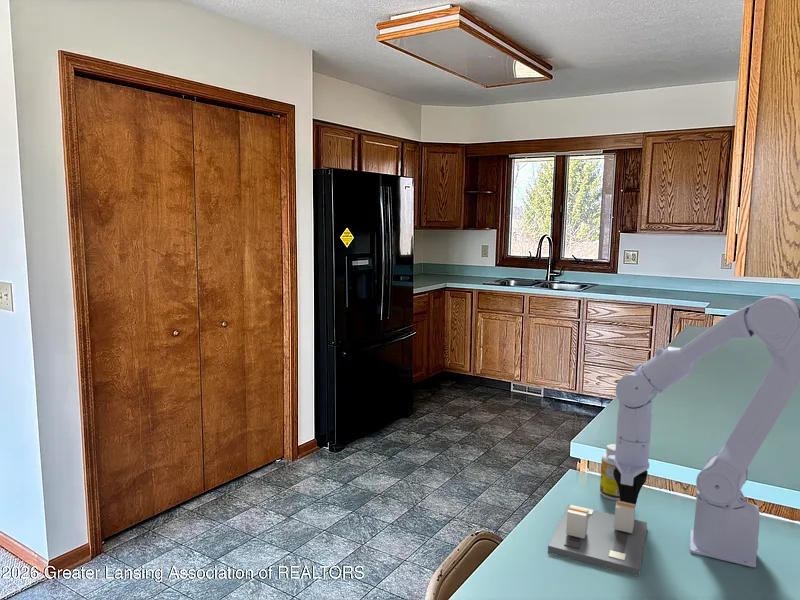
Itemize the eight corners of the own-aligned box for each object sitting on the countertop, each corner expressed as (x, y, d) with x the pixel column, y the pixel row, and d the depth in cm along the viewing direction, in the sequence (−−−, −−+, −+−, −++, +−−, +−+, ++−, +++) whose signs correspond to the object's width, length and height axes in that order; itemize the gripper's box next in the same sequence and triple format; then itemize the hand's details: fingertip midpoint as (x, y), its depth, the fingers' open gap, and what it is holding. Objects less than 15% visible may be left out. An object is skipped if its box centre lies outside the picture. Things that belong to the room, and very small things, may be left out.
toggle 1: (587, 530, 100) (588, 507, 100) (584, 538, 97) (585, 514, 97) (569, 526, 101) (570, 503, 101) (566, 534, 99) (567, 510, 98)
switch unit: (646, 528, 105) (647, 521, 104) (638, 576, 90) (639, 568, 89) (567, 510, 111) (568, 503, 111) (547, 552, 96) (548, 544, 96)
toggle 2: (633, 525, 102) (635, 503, 102) (632, 533, 100) (633, 510, 99) (615, 521, 104) (617, 499, 103) (613, 529, 101) (615, 506, 100)
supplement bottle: (604, 487, 122) (608, 440, 121) (632, 495, 118) (635, 446, 117) (595, 496, 118) (598, 447, 116) (623, 504, 114) (626, 454, 113)
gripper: (614, 422, 114) (610, 488, 115) (604, 445, 101) (599, 519, 103) (653, 428, 111) (648, 496, 112) (648, 453, 98) (642, 529, 99)
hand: (627, 508), depth 107 cm, fingers closed
